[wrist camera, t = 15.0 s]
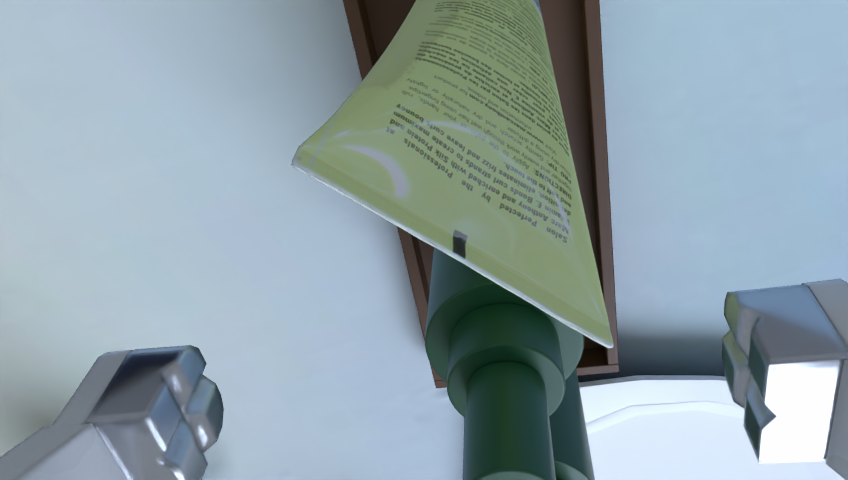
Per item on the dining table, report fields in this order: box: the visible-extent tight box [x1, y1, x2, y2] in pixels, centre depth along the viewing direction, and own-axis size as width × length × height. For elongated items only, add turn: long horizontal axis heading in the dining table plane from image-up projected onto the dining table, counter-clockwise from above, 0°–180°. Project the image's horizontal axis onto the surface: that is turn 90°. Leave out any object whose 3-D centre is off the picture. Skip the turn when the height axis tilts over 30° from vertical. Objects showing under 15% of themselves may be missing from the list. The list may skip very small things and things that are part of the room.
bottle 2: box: [463, 368, 595, 480], centre depth 30 cm, size 5×5×19 cm
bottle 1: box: [425, 247, 584, 480], centre depth 26 cm, size 5×5×19 cm
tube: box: [291, 0, 614, 348], centre depth 22 cm, size 6×5×20 cm
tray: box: [343, 0, 619, 388], centre depth 34 cm, size 25×10×2 cm, turn 11°
